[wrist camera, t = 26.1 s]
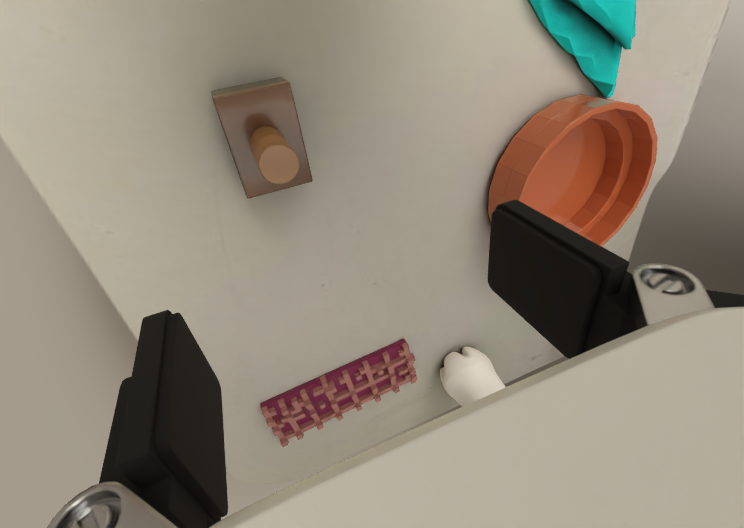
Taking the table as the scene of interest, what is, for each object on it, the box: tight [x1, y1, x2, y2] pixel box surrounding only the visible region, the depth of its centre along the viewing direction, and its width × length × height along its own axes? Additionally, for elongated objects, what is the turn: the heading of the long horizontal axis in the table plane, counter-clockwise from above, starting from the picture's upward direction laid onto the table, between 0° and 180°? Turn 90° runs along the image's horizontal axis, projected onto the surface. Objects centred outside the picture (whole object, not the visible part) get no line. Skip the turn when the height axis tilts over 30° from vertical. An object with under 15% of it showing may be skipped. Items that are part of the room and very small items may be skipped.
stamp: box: [212, 77, 312, 198], centre depth 26 cm, size 7×5×8 cm
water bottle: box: [440, 347, 506, 407], centre depth 43 cm, size 7×7×25 cm
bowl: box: [488, 94, 657, 247], centre depth 40 cm, size 17×17×5 cm
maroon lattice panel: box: [261, 339, 417, 447], centre depth 46 cm, size 7×19×2 cm, turn 102°
